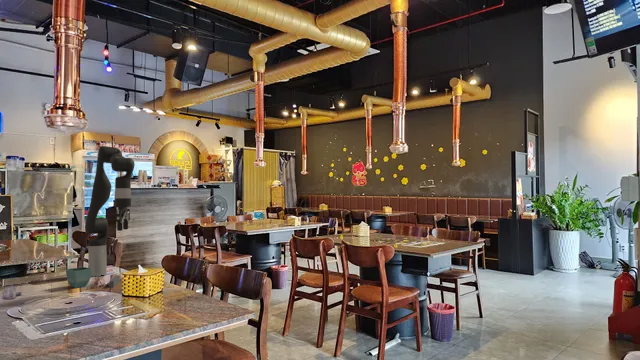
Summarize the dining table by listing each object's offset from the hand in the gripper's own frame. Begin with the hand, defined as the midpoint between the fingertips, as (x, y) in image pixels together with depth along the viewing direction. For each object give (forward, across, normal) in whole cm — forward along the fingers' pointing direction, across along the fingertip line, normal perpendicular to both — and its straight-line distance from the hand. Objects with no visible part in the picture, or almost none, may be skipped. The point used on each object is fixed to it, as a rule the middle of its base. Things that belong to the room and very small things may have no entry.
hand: (122, 230), depth 206 cm
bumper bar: (+28, +9, +7) cm, 30 cm away
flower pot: (+29, +6, +23) cm, 37 cm away
